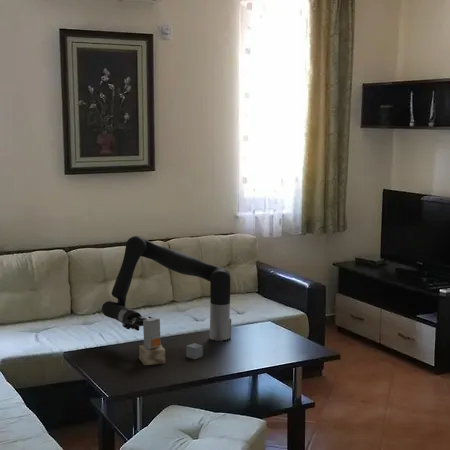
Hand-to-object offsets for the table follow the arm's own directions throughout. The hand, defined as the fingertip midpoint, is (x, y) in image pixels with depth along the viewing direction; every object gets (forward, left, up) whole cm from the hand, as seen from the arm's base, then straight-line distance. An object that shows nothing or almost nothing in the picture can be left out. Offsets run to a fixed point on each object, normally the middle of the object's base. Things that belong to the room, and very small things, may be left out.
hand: (147, 326), depth 293 cm
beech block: (0, +4, -14) cm, 15 cm away
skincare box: (0, +4, -8) cm, 9 cm away
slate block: (-18, +9, -14) cm, 24 cm away
